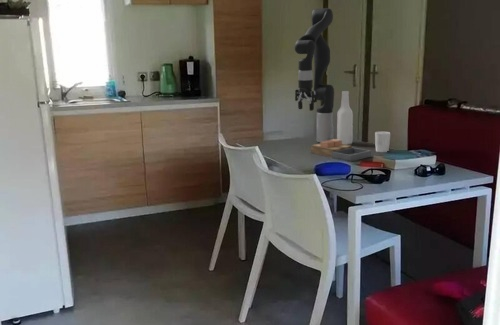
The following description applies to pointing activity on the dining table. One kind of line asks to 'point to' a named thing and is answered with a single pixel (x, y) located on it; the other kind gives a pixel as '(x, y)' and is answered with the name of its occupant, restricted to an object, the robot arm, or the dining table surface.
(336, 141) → the tile
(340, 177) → the dining table surface
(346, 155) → the box
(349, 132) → the alcohol
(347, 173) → the dining table surface
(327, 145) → the tile
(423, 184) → the dining table surface
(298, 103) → the robot arm
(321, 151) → the oak plate
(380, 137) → the white cup
